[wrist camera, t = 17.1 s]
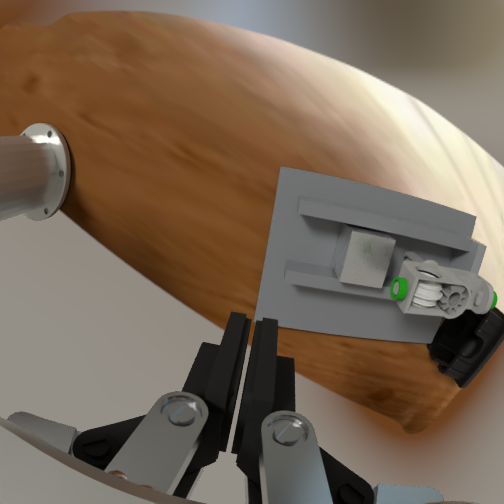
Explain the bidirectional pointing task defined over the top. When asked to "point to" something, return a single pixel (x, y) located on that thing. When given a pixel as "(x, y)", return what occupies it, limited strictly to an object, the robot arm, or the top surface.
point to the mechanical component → (439, 289)
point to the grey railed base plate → (324, 246)
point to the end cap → (467, 343)
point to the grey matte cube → (362, 255)
